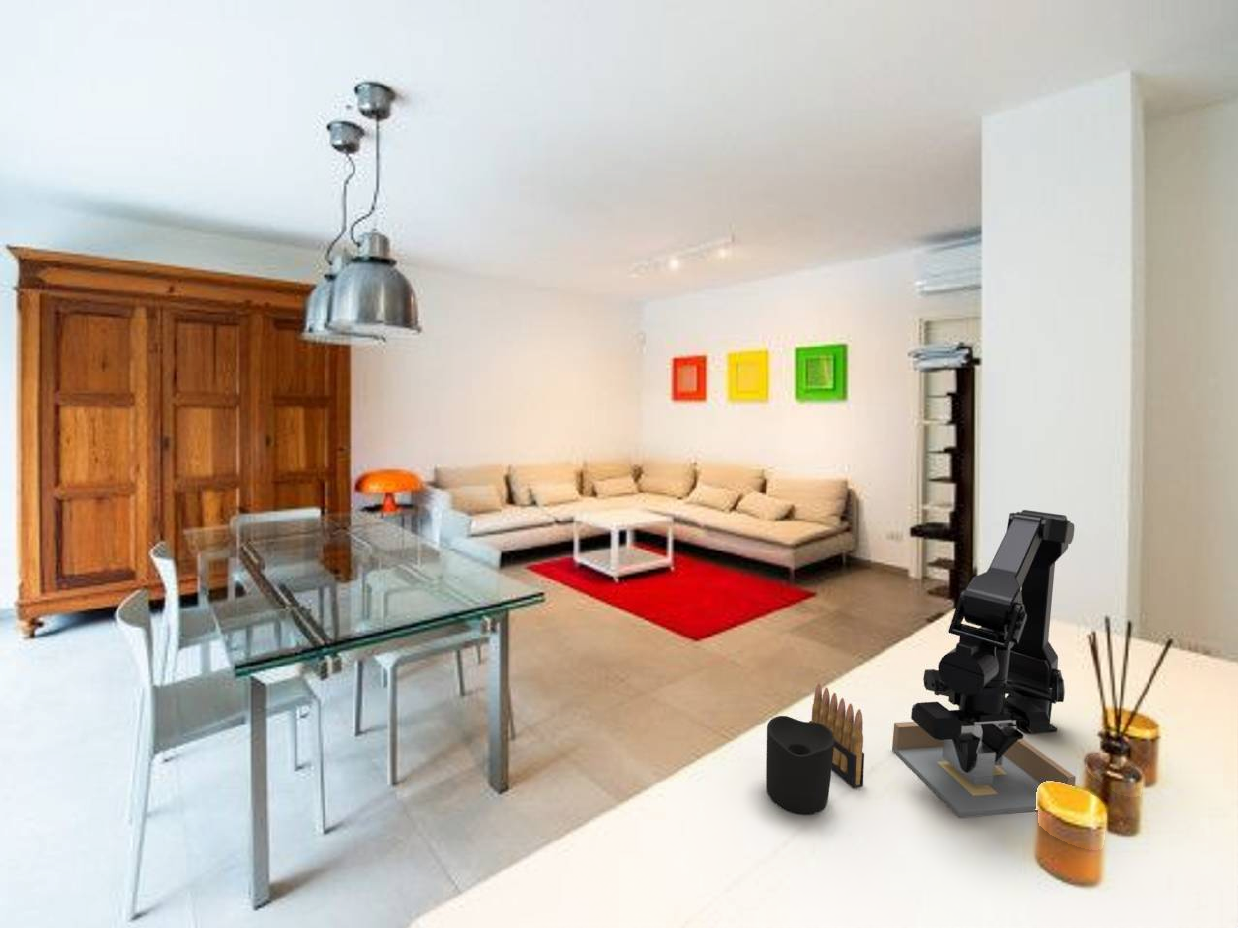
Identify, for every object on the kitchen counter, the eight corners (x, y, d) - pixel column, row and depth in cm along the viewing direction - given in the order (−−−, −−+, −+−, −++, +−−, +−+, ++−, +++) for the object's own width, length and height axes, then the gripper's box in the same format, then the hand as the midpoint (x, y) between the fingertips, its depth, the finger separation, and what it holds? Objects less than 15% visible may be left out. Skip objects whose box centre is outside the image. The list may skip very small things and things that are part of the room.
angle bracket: (1022, 781, 88) (1026, 750, 88) (974, 785, 87) (977, 753, 87) (987, 753, 95) (990, 724, 95) (942, 756, 94) (944, 727, 93)
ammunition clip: (863, 785, 90) (868, 711, 88) (853, 788, 89) (859, 713, 88) (815, 746, 99) (819, 678, 98) (806, 748, 99) (810, 680, 97)
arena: (988, 743, 101) (991, 716, 101) (1072, 807, 86) (1075, 776, 85) (891, 749, 99) (894, 722, 98) (959, 817, 83) (962, 785, 83)
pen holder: (795, 826, 81) (799, 758, 80) (750, 785, 89) (753, 723, 88) (844, 805, 85) (849, 740, 84) (797, 768, 93) (800, 709, 92)
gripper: (998, 646, 97) (989, 735, 98) (893, 650, 94) (886, 742, 96) (1058, 678, 86) (1046, 778, 87) (940, 685, 83) (931, 788, 85)
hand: (974, 769), depth 89 cm, fingers closed on angle bracket, 3 cm apart
